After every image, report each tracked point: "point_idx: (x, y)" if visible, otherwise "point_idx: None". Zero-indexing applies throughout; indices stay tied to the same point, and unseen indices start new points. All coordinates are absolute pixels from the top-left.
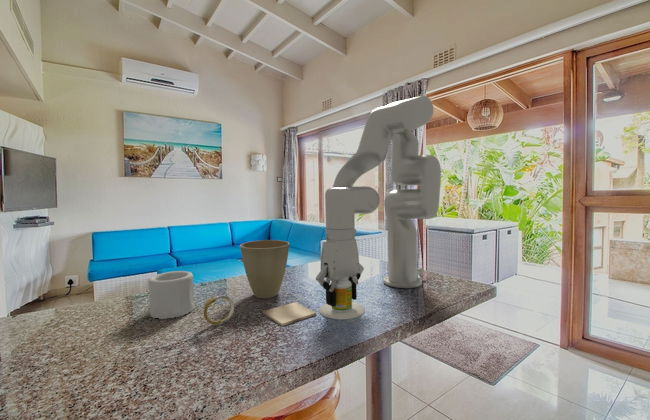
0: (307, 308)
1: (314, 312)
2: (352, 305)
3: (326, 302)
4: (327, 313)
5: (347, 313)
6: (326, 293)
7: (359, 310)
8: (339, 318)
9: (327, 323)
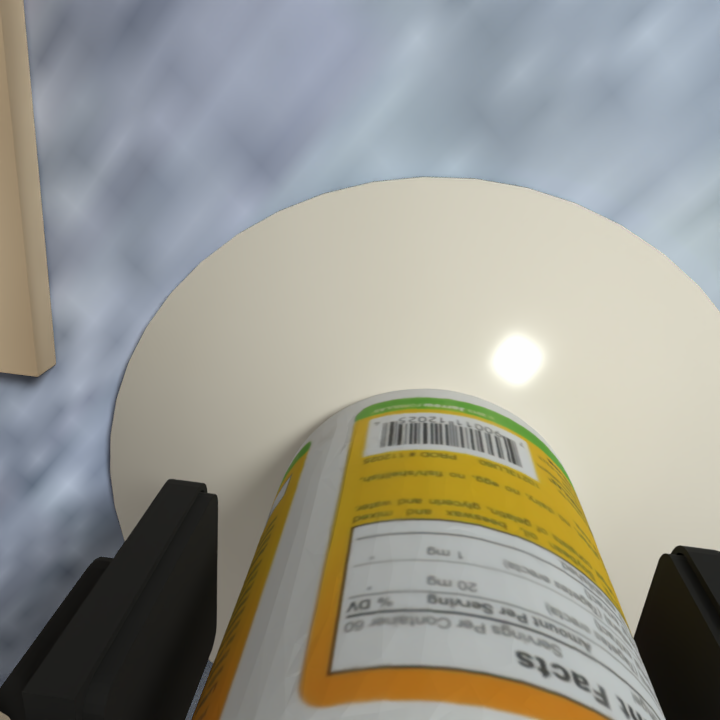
0: (11, 147)
1: (21, 354)
2: (644, 536)
3: (164, 489)
4: (181, 463)
5: None
6: (15, 689)
7: None
8: None
9: (35, 604)
